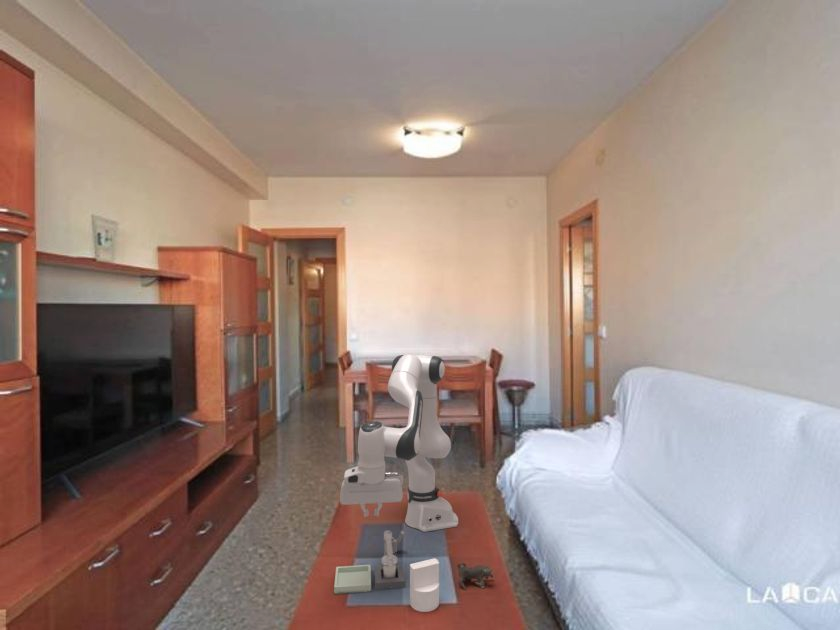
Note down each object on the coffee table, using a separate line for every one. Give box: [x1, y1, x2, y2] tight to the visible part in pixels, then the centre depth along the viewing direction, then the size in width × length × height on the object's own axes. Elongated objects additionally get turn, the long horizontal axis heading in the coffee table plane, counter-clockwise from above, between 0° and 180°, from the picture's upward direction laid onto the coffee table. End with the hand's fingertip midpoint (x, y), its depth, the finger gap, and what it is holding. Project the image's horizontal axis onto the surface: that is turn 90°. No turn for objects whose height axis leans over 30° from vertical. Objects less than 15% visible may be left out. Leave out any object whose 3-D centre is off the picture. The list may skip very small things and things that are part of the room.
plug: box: [381, 554, 398, 579], centre depth 153 cm, size 5×5×7 cm
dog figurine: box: [457, 562, 494, 591], centre depth 150 cm, size 12×6×7 cm, turn 91°
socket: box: [374, 542, 406, 590], centre depth 156 cm, size 10×17×8 cm, turn 7°
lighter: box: [391, 530, 405, 553], centre depth 170 cm, size 7×2×8 cm, turn 83°
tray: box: [333, 564, 372, 595], centre depth 152 cm, size 12×12×2 cm
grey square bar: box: [383, 529, 394, 566], centre depth 156 cm, size 17×3×3 cm, turn 7°
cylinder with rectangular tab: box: [409, 557, 440, 613], centre depth 141 cm, size 9×9×12 cm
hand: (371, 515), depth 149 cm, fingers closed
